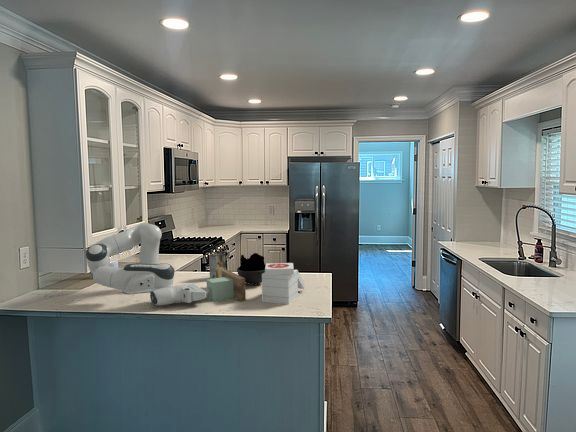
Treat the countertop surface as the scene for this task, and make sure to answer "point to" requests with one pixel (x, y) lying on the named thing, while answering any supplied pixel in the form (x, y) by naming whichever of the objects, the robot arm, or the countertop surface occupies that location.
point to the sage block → (220, 288)
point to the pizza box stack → (281, 283)
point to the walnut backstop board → (236, 284)
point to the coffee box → (217, 265)
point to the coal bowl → (252, 269)
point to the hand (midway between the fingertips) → (208, 289)
